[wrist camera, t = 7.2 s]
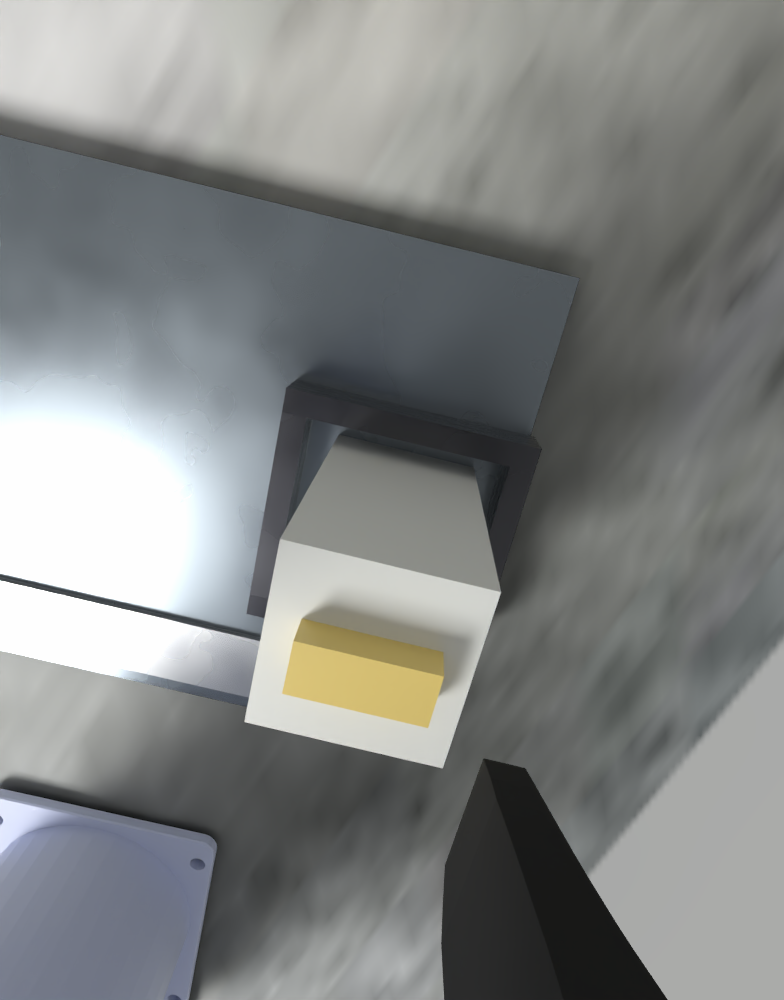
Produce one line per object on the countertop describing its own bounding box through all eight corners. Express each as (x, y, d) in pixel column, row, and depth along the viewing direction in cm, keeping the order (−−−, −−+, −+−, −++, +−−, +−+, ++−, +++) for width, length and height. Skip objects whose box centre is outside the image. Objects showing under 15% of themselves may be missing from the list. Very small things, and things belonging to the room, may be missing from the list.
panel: (435, 732, 21) (436, 778, 19) (-262, 572, 20) (-333, 603, 18) (576, 278, 16) (596, 279, 14) (-325, 56, 16) (-429, 26, 14)
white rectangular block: (438, 588, 18) (443, 798, 11) (312, 557, 18) (232, 749, 11) (473, 467, 17) (505, 614, 10) (338, 434, 17) (269, 556, 10)
